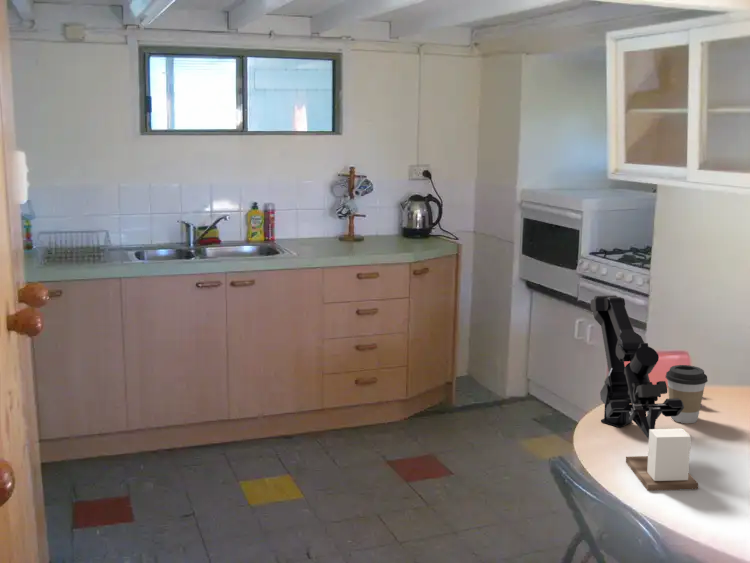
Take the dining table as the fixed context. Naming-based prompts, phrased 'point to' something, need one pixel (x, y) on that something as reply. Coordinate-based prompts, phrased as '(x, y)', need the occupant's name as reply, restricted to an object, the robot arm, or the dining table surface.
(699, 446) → the dining table surface
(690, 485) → the board
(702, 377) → the coffee cup
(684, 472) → the block
